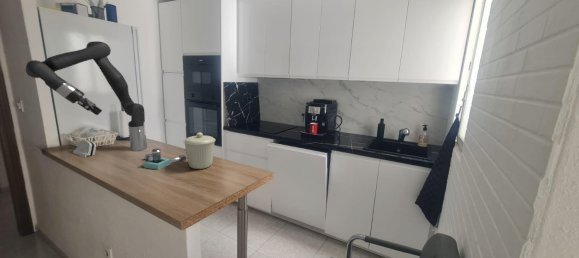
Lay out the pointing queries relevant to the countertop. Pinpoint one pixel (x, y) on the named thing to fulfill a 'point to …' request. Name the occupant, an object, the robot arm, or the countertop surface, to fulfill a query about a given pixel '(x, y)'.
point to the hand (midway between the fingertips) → (99, 113)
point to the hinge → (85, 148)
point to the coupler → (156, 155)
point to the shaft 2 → (178, 159)
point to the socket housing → (156, 164)
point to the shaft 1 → (148, 157)
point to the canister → (199, 150)
